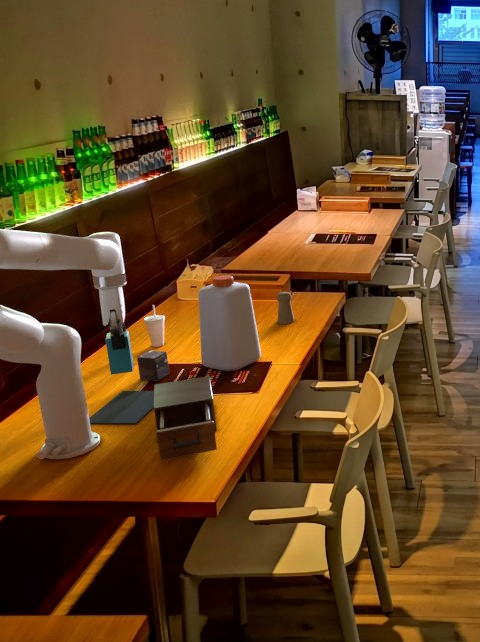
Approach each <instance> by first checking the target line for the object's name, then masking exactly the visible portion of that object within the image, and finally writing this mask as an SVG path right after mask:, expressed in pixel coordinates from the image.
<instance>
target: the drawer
mask: <svg viewBox="0 0 480 642" xmlns="http://www.w3.org/2000/svg"><path fill="white" fill-rule="evenodd" d="M155 433H156V438H157V439H156V441H157V447H158V453H159V460H160V461H165V460H166V461H167V460H170V459H176V458H181V457H185V456H192V455H198V454H201V453H206V452H207V453H208V452H212V451H217V450H218V448H217V440H216V431H214V422H213V420H212V421H210V416H209V408H208V402H206V403H200V404H194V405H188V406H182V407H176V408H170V409H164V410H160V430H157V429H156V431H155Z"/></svg>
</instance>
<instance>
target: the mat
mask: <svg viewBox="0 0 480 642" xmlns="http://www.w3.org/2000/svg"><path fill="white" fill-rule="evenodd" d="M152 411H154V390H122V391H120V393H118V394H117V395H115V396H114V397H113V398H112V399H111V400H109V401H108V402H107V403H105V404H104V405H103V406H102V407H100V409H98V410H97V411H96V412H94V413H93V414H92V415H91V416H89V420H90V425H107V426H108V425H111V426H113V425H114V426H116V425H117V426H118V425H120V426H123V425H124V426H125V425H127V426H129V425H130V426H132V425H133V426H137V425H138V424H139V423H140V422H141V421H142V420H143V419H144V418H145V417H147V416H148V415H149V414H150V413H151V412H152Z"/></svg>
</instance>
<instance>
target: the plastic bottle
mask: <svg viewBox="0 0 480 642" xmlns="http://www.w3.org/2000/svg"><path fill="white" fill-rule="evenodd" d="M250 288H251V287H250V286H249V285H248V284H247V283H243V282H237V281H234V277H233V276H232V275H230V274H222V275H215V276H214V277H213V278H212V283H211V284H208V285H205V286H203V287H201V288H199V290H198V310H199V311H198V313H199V314H198V315H199V316H198V317H199V334H200V335H199V336H200V358H201V359H200V361H201V364H202V365H203V367H206V368H208V369H214V370H218V371H223V372H236V371H238V370H241V369H243V368H245V367H247V366H249V365H252V364H253V363H255V362H257V361H259V360H260V359H261V357H262V350H261V345H260V339H259V333H258V329H257V328H258V327H257V322H256V317H255V312H254V310H255V309H254V306H253V299H252V294H251V289H250Z"/></svg>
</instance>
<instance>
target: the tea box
mask: <svg viewBox="0 0 480 642" xmlns="http://www.w3.org/2000/svg"><path fill="white" fill-rule="evenodd" d="M123 334H124V336H125V342H126V348H125V349H117V350H113V349H112V343H111V337H110V335H111V332H108V333H106V336H105V345H106V351H107V358H108V364H109V365H108V366H109V371H110V375H118V374H126V373H132V372H134V367H135V366H134V365H135V364H134V358H133V352H132V345H131V338H130V337H131V336H130V332H129V330H126V331H123Z"/></svg>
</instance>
